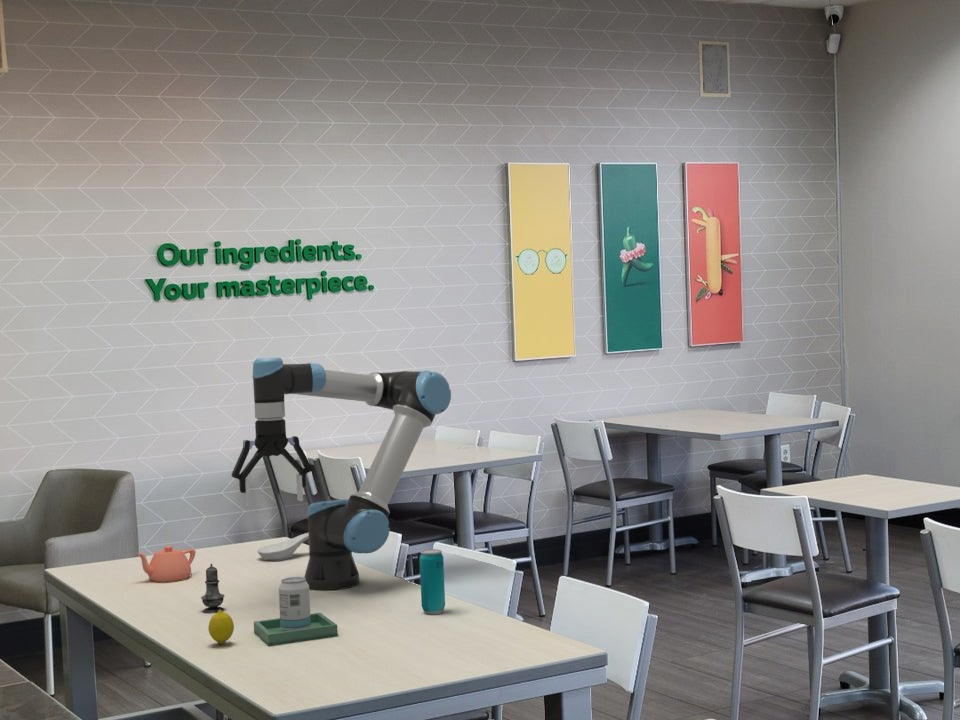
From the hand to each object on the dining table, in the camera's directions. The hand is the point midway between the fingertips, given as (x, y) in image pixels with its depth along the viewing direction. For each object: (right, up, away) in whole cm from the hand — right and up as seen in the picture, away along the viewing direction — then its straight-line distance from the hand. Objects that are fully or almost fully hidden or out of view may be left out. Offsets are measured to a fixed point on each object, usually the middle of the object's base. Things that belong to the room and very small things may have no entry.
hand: (273, 503), depth 299 cm
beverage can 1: (+10, -27, -26) cm, 38 cm away
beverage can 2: (+41, -26, -10) cm, 49 cm away
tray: (+9, -27, -26) cm, 39 cm away
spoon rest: (-5, -26, +71) cm, 75 cm away
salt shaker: (-16, -28, +1) cm, 32 cm away
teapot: (-38, -28, +43) cm, 64 cm away
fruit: (-6, -28, -33) cm, 44 cm away
